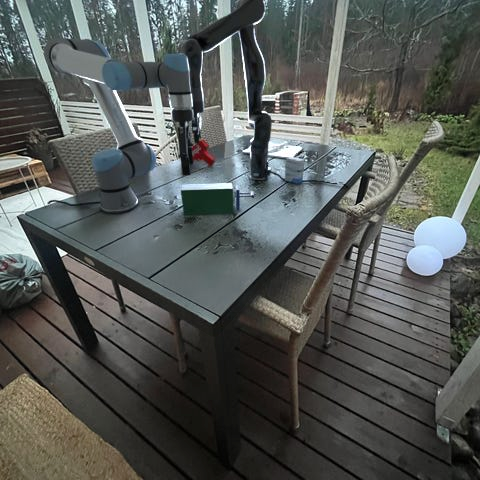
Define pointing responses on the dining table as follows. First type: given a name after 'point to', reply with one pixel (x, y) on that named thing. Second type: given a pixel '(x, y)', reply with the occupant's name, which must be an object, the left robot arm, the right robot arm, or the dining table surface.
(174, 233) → the dining table surface
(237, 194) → the drawer
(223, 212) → the cabinet
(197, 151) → the toy gun
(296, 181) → the ink box
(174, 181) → the dining table surface
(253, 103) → the right robot arm
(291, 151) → the relief map
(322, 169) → the dining table surface
